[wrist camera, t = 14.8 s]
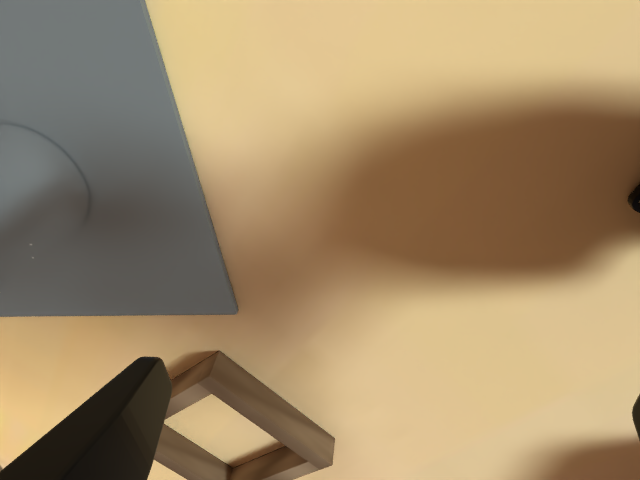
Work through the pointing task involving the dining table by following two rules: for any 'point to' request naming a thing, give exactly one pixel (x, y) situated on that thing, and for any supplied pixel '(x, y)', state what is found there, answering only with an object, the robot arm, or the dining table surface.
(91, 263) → the slate mat
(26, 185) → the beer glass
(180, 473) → the walnut holder
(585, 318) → the dining table surface
